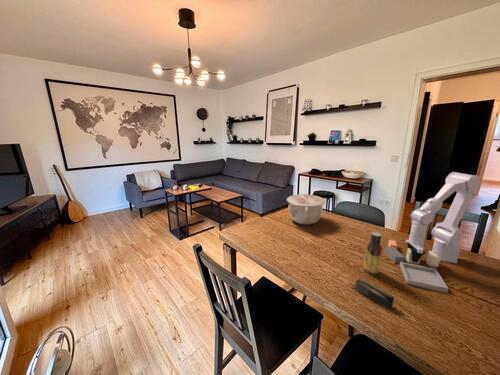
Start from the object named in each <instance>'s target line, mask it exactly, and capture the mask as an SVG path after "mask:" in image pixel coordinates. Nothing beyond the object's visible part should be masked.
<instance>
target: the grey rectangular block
mask: <svg viewBox="0 0 500 375" xmlns="http://www.w3.org/2000/svg"><path fill="white" fill-rule="evenodd" d="M383 250H384V251H383V254H385V255H386V256H387V257H388V258H389V259H390V260H391V261H392V262H393V263H394V264H400V262H403V263H405V259H406V256H405V255H403V254H402V253H401V252H400V251H399V250H398V248H397V249H395V248H394V247H388V246H384V249H383Z"/></svg>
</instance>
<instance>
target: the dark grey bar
mask: <svg viewBox="0 0 500 375" xmlns="http://www.w3.org/2000/svg"><path fill="white" fill-rule="evenodd" d="M350 287H351V288H352V289H354V290H356V291H357V292H359V293H362V295H364V296H366V297H368V298H369V299H371V300H373V301H374V302H376V303H377V304H379V305H381V306H384V307H385V308H387V309H391V308H393V304H394V300H395V297H394V296H393V295H390V294H389V293H386V291H384V290H382V289H379V288H377V287H376V286H374V284H373V285H372V284H371V283H369V282H367V281H366V280H362V279H357V280H355V284H354V286H353V285H350Z"/></svg>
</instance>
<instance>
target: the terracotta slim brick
mask: <svg viewBox="0 0 500 375" xmlns="http://www.w3.org/2000/svg"><path fill="white" fill-rule="evenodd" d="M387 243H388V244H387V247H394V248H395V249H397V250H398V244H397V242H396V240H393V239H388V242H387Z"/></svg>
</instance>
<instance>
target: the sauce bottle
mask: <svg viewBox="0 0 500 375" xmlns="http://www.w3.org/2000/svg"><path fill="white" fill-rule="evenodd" d="M381 239H382V234H381V233H380V232H377V231H373V232H371V234H370V240H369V243H368V244H367V245H366V248H365V256H364V263H363V271H365V273H367V274H369V275H373V276H374V275H375V276H377V274H379V272H380V267H381V266H380V265H381V261H382V255H383V254H382V253H383V252H382V251H383V247H382V245H381Z"/></svg>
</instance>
